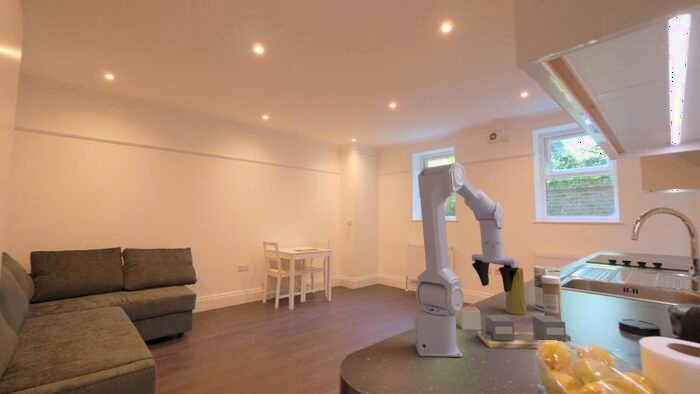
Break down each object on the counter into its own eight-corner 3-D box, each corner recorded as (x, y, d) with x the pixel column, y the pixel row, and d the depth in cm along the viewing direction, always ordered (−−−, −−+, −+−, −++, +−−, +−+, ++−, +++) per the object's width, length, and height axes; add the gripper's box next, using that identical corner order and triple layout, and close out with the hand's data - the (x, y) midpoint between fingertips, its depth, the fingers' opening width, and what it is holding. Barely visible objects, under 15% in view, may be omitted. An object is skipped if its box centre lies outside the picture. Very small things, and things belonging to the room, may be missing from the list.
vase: (522, 310, 105) (520, 267, 106) (530, 315, 99) (527, 270, 100) (503, 309, 106) (501, 267, 107) (509, 314, 100) (507, 269, 101)
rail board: (489, 347, 74) (488, 323, 74) (477, 335, 82) (477, 313, 82) (577, 349, 73) (575, 324, 73) (556, 336, 81) (555, 314, 81)
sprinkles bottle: (565, 323, 92) (562, 276, 93) (557, 326, 89) (555, 278, 90) (548, 319, 95) (545, 274, 96) (540, 321, 93) (538, 276, 94)
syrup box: (534, 308, 107) (532, 265, 108) (550, 307, 108) (547, 265, 109) (546, 313, 102) (544, 268, 103) (563, 312, 102) (560, 267, 104)
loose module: (462, 329, 87) (462, 310, 87) (458, 324, 91) (457, 306, 92) (481, 329, 86) (480, 310, 87) (475, 324, 91) (474, 306, 91)
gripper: (523, 242, 87) (528, 290, 87) (480, 238, 100) (484, 280, 100) (507, 246, 84) (512, 296, 84) (465, 241, 97) (469, 285, 97)
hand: (496, 288), depth 92 cm, fingers open, 7 cm apart
